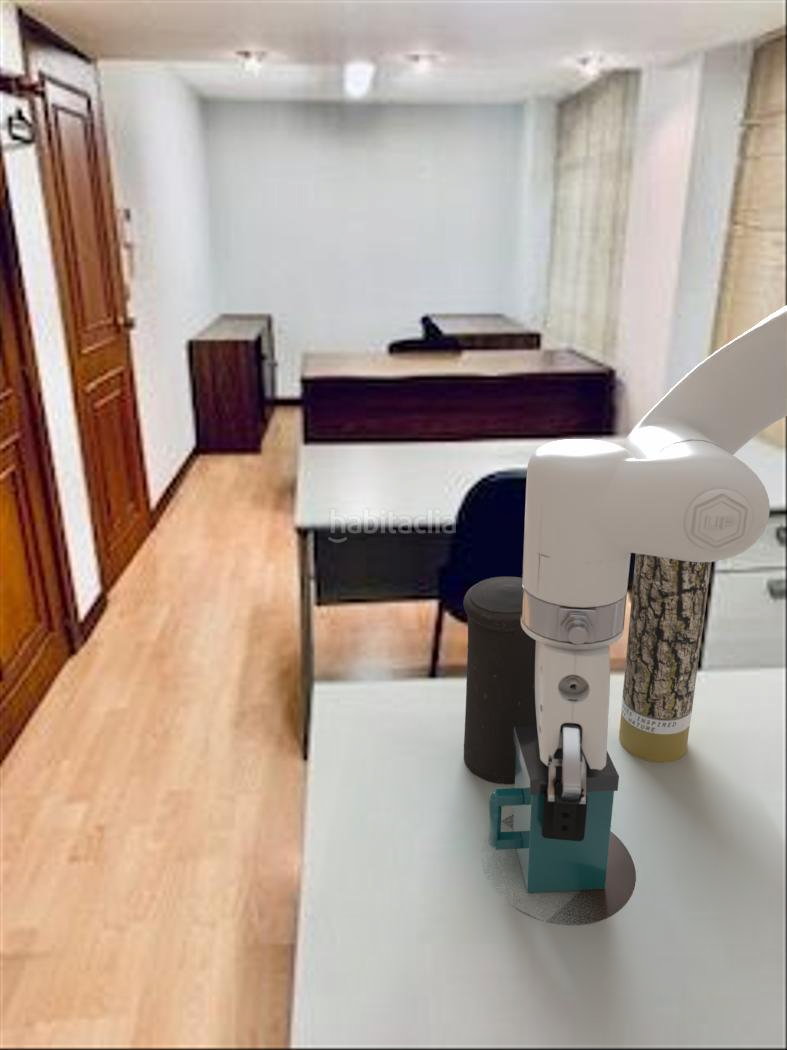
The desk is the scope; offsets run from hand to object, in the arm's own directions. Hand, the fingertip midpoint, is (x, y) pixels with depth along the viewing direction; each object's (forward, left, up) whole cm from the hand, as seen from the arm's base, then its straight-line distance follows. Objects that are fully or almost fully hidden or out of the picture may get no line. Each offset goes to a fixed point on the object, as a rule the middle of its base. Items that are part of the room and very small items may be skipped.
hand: (559, 799), depth 62 cm
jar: (+1, 0, -6) cm, 7 cm away
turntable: (0, 0, -7) cm, 7 cm away
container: (+3, -14, -8) cm, 16 cm away
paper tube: (-12, -17, -8) cm, 22 cm away
